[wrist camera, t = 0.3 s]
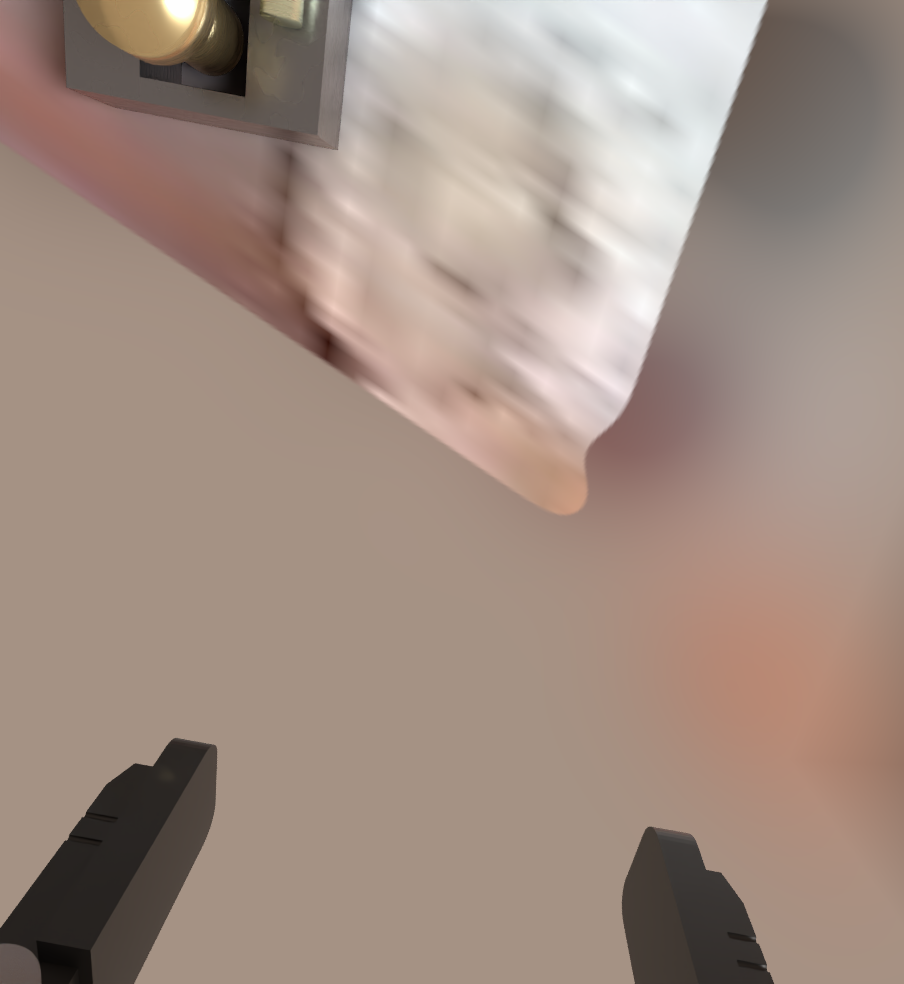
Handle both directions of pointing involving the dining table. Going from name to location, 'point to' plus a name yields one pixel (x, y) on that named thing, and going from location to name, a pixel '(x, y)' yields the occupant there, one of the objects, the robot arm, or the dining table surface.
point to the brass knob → (171, 31)
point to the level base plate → (269, 82)
